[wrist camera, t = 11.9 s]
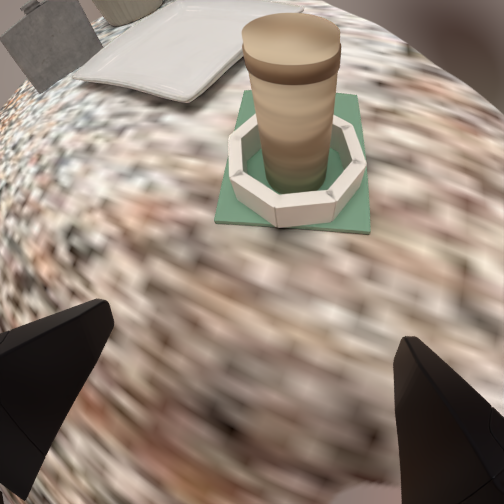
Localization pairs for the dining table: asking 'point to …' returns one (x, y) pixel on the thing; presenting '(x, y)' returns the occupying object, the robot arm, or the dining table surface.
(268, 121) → the tan tapered tumbler
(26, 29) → the hip flask
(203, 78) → the square plate
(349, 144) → the octagonal cup coaster
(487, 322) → the dining table surface
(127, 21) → the canister
